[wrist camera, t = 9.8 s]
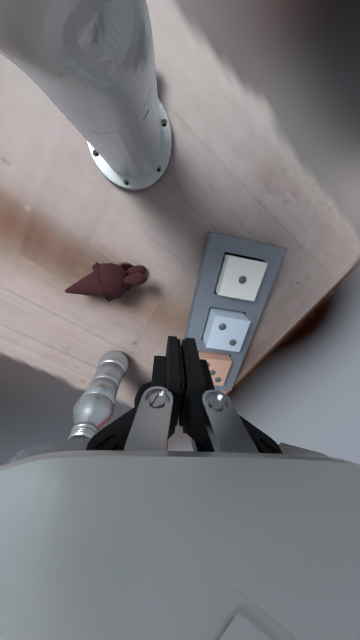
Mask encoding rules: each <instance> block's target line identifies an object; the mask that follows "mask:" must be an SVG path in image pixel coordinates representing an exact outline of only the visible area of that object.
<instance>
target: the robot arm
mask: <svg viewBox="0 0 360 640" xmlns="http://www.w3.org/2000/svg"><path fill="white" fill-rule="evenodd" d="M0 54H2V55H3V56H4V57H6V58H7V59H9V60H10V61H11V62H13V63H14V64H15V65H16V66H18V67H19V68H20V69H21V70H22V71H23V72H25V73H26V74H27V75H28V76H29V77H30V78H31V79H32V80H33V81H34V82H35V83H36V84H37V85H38V86H39V87H40V88H41V90H42V91H43V92H44V93H45V94H46V95H47V96H48V97H49V98H50V99H51V100H52V102H53V103H54V104H55V105H56V106H57V107H58V108H59V110H60V111H61V112H62V113H63V114H64V115H65V116H66V117H67V119H68V120H69V121H70V122H71V123H72V124H73V125H74V126H75V128H76V129H77V130H78V131H79V132H80V133H81V134H82V135H83V137H84V138H85V139H86V140H87V143H88V148H89V150H90V153H91V156H92V158H93V160H94V162H95V163H96V165H97V167H98V168H99V169H100V171H101V172H102V173H103V174H104V175H105V176H106V177H107V178H108V179H109V180H110V181H111V182H113V183H114V184H116V185H118V186H119V187H121V188H125V189H128V190H141V189H145V188H148V187H150V186H151V185H153V184H154V183H156V182H157V181H158V180H159V179H160V178H161V176H162V175H163V173H164V172H165V170H166V168H167V165H168V163H169V160H170V155H171V148H172V134H171V127H170V122H169V119H168V116H167V113H166V111H165V109H164V107H163V105H162V103H161V102H160V100H159V99H158V92H157V81H156V69H155V58H154V47H153V37H152V29H151V22H150V17H149V12H148V7H147V3H146V0H0ZM163 124H165V125H166V127H163ZM96 154H99V156H98V157H97V156H96ZM158 169H160V170H161V171H160V172H158V171H157V170H158ZM126 182H129V185H126ZM178 416H179V426H183V433H187V434H188V435H189V436H190V437H191V438H192V447H193V451H194V452H186V451H165V449H166V443H167V440H168V439H169V438H170V437H171V435H172V434H174V431H175V426H177V422H178ZM0 640H360V464H357V463H353V462H350V461H346V460H343V459H338V458H332V457H328V456H327V455H325V454H322V453H319V452H315V451H311V450H308V449H304V448H300V447H296V446H292V445H288V444H285V443H280V444H279V445H278V444H277V443H276V442H275V441H274V440H273V439H271V438H270V437H269V436H267V435H266V434H265V433H263V432H262V431H260V430H259V429H258V428H256V427H255V426H253V425H252V424H251V423H249V422H248V421H247V420H245V419H244V418H242V417H241V416H240V415H239V414H238V413H237V411H236V409H235V407H234V405H233V403H232V401H231V400H230V398H229V397H228V396H227V395H226V394H225V393H223V392H221V391H219V390H215V388H214V384H213V381H212V377H211V374H210V370H209V367H208V364H207V361H206V359H200V358H199V354H198V350H197V346H196V342H195V338H186V339H185V340H182V344H181V343H180V339H177V337H174V336H168V342H167V350H166V356H154V365H153V374H152V384H151V388H149V389H147V390H146V391H145V392H144V393H143V395H142V398H141V401H140V404H138V405H137V406H136V407H134V408H133V409H131V410H130V411H128V412H127V413H125V414H124V415H122V416H121V417H119V418H118V419H117V420H115V421H114V422H112V423H111V424H109V425H108V426H106V427H105V428H104V429H102V430H100V431H99V432H98V433H96V434H95V435H94V436H93V437H92V438H89V439H84V437H80V438H75V439H70V440H65V441H59V442H54V443H49V444H44V445H38V446H33V447H29V448H26V449H24V450H22V451H21V452H19V453H17V454H16V455H15V456H14V457H13V458H12V459H11V460H9V462H8V463H7V464H5V465H2V466H0Z"/></svg>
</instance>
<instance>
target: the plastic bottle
mask: <svg viewBox="0 0 360 640" xmlns="http://www.w3.org/2000/svg"><path fill="white" fill-rule="evenodd" d="M127 370H128V359H127V357H126V356H125V355H124V354H123V353H121V352H118V351H111V352H108V353H106V354H105V355H104V356H103V357H102V358H101V359H100V361H99V364H98V367H97V371H96V373H95V376H94V378H93V380H92V382H91V383H90V385H89V387H88V388H87V390H86V391H85V392H84V394H83V395H82V396H81V398H80V399H79V400H78V402H77V403H76V405H75V407H74V412H73V418H74V423H75V426H74V427H73V429H72V431H71V434H70V436H69V438H68V440H70V439H75V438H80V437H84V439H89V438H92V437H93V436H94V435H95V434H96V433H98V430H99V429H101V428H102V427H104V426H105V425H106V424H107V423H108V422H109V420H110V419H111V417H112V415H113V411H114V406H115V400H116V395H117V391H118V387H119V385H120V383H121V380H122V378H123V377H124V375H125V374H126V372H127Z"/></svg>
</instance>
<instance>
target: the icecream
mask: <svg viewBox="0 0 360 640" xmlns="http://www.w3.org/2000/svg"><path fill="white" fill-rule="evenodd" d="M92 268H93V270H94V272H92V273H90V274H89V275H87V276H86V277H84V278H83V279H81V280H80V281H78V282H77V283H75V284H73V285H72V286H70V287H69V288H67V289H66V290H65V292H66V293H73V294H82V295H92V296H101V297H105V299H106V300H108V301H109V302H110V301H111V300H112V299H115V298H117V297H118V298H119V297H121V296H122V294H124V293H125V291H126V290H129V289H131V286H132V285H134V286H137V285H139V284H142V283H145V282H146V280H147V276H145V275H144V274H143V273H144V272H145V271H146V268H145V267H144V266H141V265H140V266H134V267H131V268H129V269H127V270H126V271H125V270H124V269H123V268H122V267H121V266H119V265H117V264H112V263H108V264H106V263H103V264H101V265H100V264H99V263H97V262H96V264H94V265H93V266H92Z"/></svg>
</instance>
